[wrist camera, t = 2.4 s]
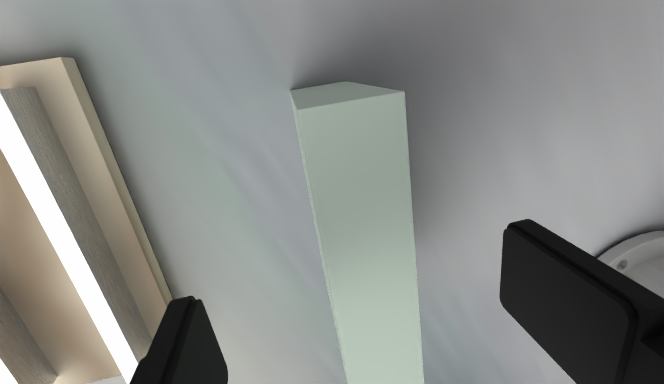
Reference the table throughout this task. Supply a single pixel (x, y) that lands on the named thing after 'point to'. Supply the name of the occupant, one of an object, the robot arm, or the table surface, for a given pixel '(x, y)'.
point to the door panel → (364, 225)
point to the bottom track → (68, 238)
